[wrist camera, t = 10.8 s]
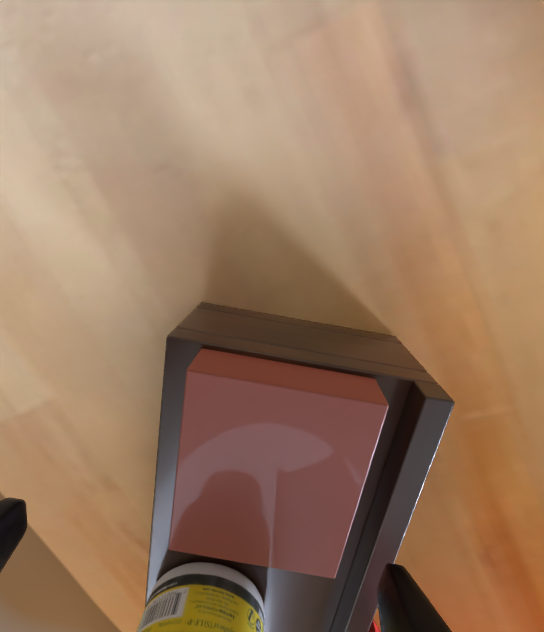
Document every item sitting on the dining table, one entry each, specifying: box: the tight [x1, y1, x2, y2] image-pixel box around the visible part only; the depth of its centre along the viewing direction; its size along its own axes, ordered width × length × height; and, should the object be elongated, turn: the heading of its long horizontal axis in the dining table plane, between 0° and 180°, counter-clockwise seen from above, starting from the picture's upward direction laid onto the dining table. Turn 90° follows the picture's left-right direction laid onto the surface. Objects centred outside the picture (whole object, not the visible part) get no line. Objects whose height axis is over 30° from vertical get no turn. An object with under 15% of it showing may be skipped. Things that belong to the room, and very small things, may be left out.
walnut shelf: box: [145, 302, 454, 632], centre depth 17 cm, size 10×20×6 cm, turn 170°
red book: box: [168, 348, 389, 579], centre depth 12 cm, size 6×8×2 cm
